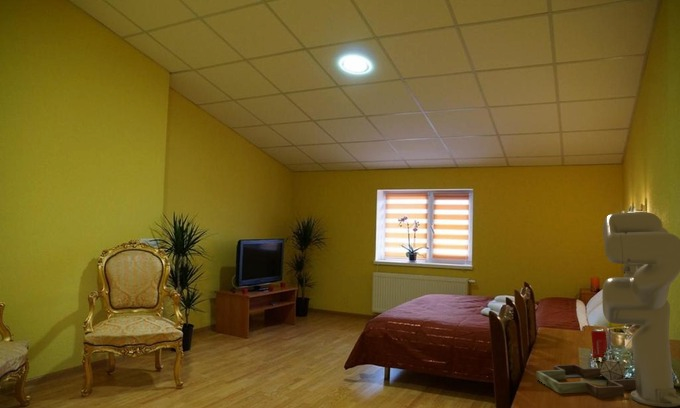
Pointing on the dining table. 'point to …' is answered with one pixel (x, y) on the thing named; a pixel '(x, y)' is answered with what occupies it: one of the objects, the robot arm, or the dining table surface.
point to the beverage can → (599, 342)
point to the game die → (612, 370)
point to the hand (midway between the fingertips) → (642, 323)
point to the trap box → (577, 371)
